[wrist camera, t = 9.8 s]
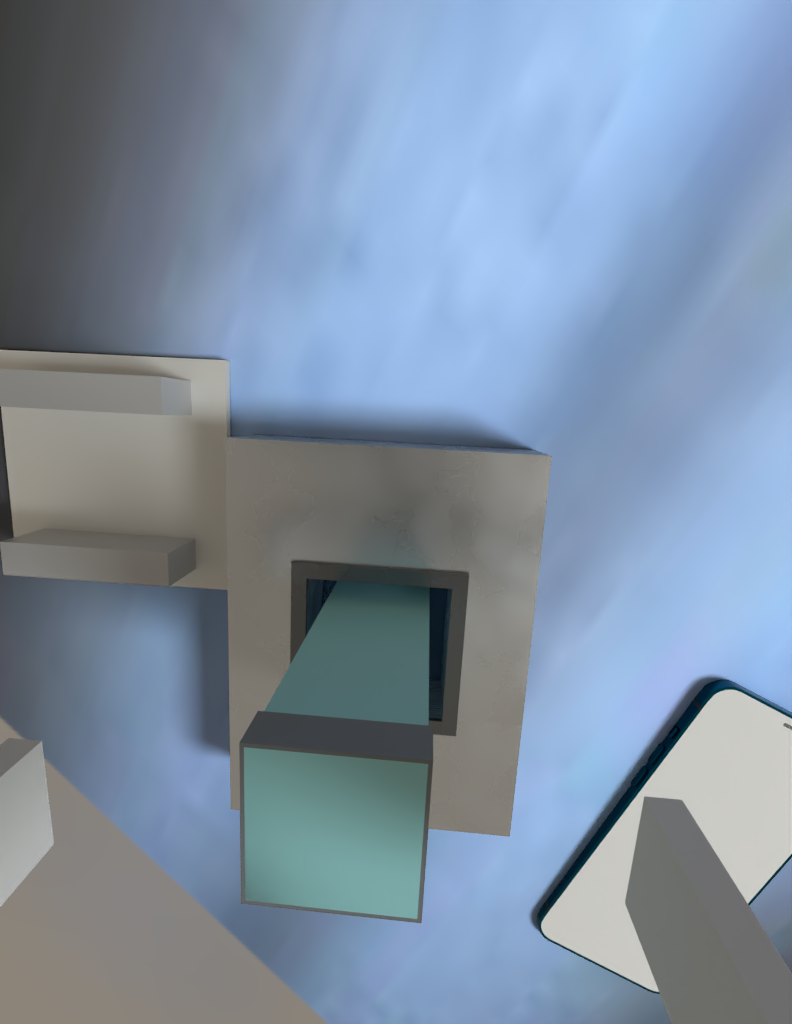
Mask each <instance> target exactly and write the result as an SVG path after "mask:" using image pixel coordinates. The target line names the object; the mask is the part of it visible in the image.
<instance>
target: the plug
mask: <svg viewBox="0 0 792 1024" xmlns="http://www.w3.org/2000/svg"><path fill="white" fill-rule="evenodd" d="M429 599H430V587H419V586H405V585H391V584H376V583H362V582H348V581H337V582H336V584H335V586H334V588H333V589H332V591H331V593H330V595H329V597H328V598H327V600H326V602H325V604H324V606H323V607H322V609H321V611H320V613H319V614H318V616H317V618H316V620H315V622H314V623H313V625H312V627H311V629H310V630H309V632H308V634H307V636H306V638H305V639H304V641H303V643H302V645H301V646H300V648H299V650H298V652H297V654H296V655H295V657H294V659H293V661H292V662H291V664H290V666H289V668H288V670H287V671H286V673H285V675H284V677H283V678H282V680H281V682H280V684H279V686H278V687H277V689H276V691H275V693H274V694H273V696H272V698H271V700H270V702H269V703H268V705H267V707H266V709H265V711H258V712H257V713H256V715H255V717H254V718H253V720H252V722H251V724H250V725H249V727H248V729H247V730H246V732H245V734H244V736H243V737H242V739H241V741H240V742H239V758H240V851H241V904H251V905H260V906H269V907H278V908H287V909H296V910H306V911H315V912H324V913H333V914H342V915H351V916H361V917H370V918H379V919H388V920H397V921H406V922H415V923H421V921H422V907H423V894H424V880H425V866H426V853H427V839H428V826H429V812H430V798H431V785H432V771H433V726H429Z"/></svg>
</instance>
